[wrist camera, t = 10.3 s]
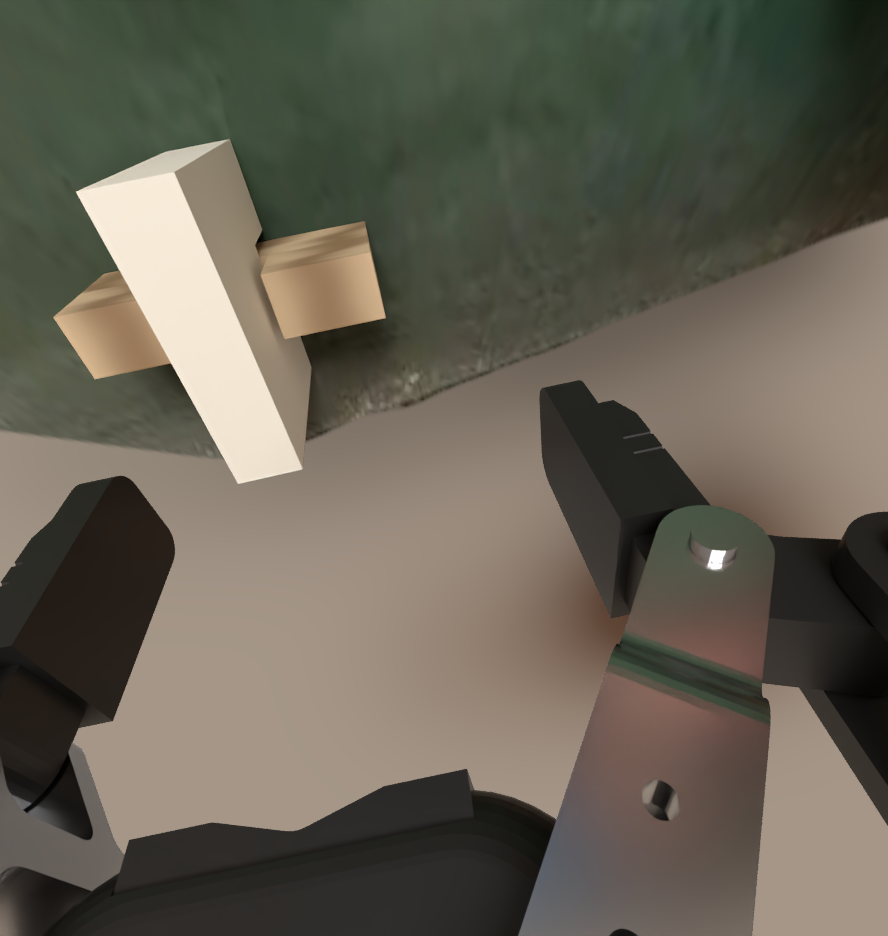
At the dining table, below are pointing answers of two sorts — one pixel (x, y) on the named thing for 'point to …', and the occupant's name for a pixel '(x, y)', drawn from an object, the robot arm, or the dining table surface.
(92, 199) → the white rectangular block
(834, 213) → the dining table surface
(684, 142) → the dining table surface
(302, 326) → the oak base
